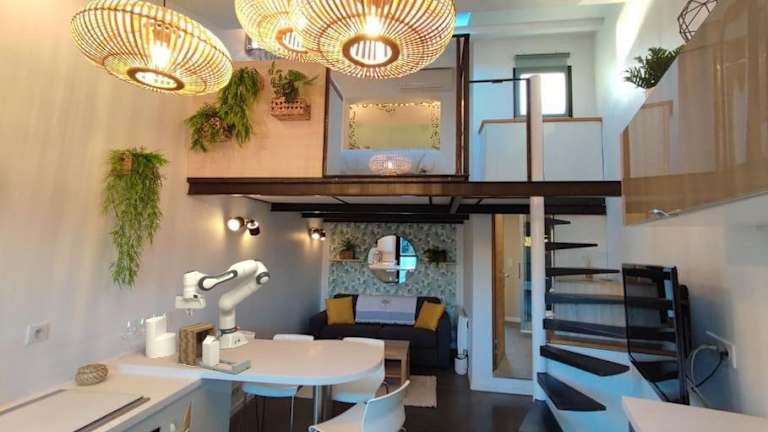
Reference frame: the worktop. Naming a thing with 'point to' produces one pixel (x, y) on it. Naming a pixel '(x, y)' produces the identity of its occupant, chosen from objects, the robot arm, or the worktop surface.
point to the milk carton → (210, 351)
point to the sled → (235, 368)
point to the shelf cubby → (193, 342)
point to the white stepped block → (159, 338)
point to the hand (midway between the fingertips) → (190, 315)
